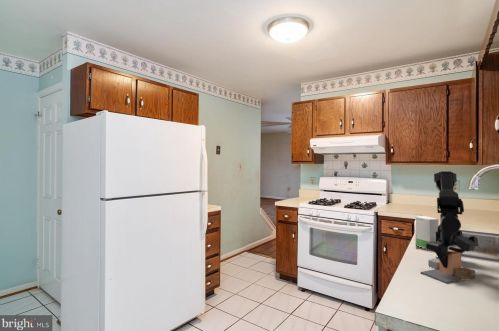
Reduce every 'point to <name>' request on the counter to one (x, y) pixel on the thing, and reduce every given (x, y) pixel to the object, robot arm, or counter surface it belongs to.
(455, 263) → the terracotta block
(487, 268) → the counter surface
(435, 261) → the grey plastic block
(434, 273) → the charcoal mat
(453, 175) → the robot arm
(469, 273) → the walnut block
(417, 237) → the skincare box
